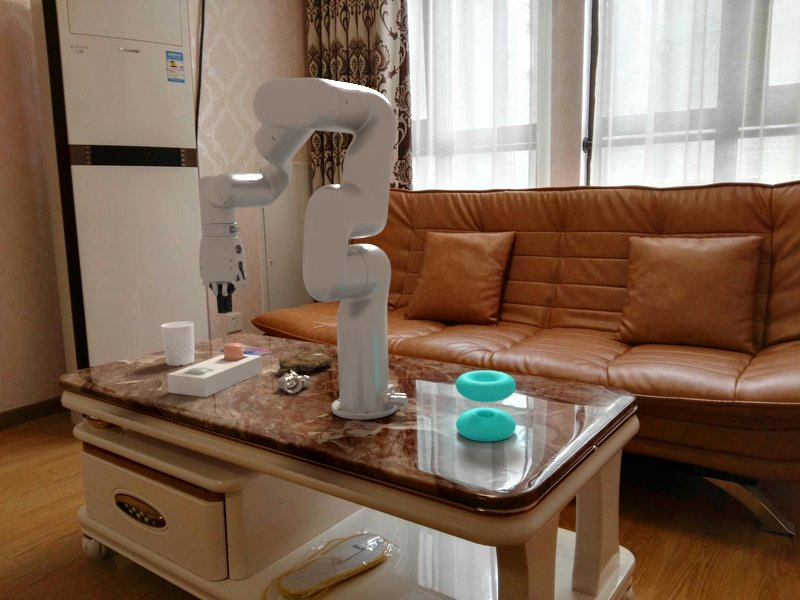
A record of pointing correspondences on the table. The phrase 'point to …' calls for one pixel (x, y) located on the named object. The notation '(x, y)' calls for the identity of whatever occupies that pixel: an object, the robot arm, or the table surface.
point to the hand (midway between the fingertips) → (225, 312)
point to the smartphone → (253, 351)
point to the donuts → (485, 420)
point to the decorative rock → (304, 362)
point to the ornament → (293, 382)
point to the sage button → (198, 371)
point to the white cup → (178, 342)
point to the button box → (214, 375)
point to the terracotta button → (233, 352)
